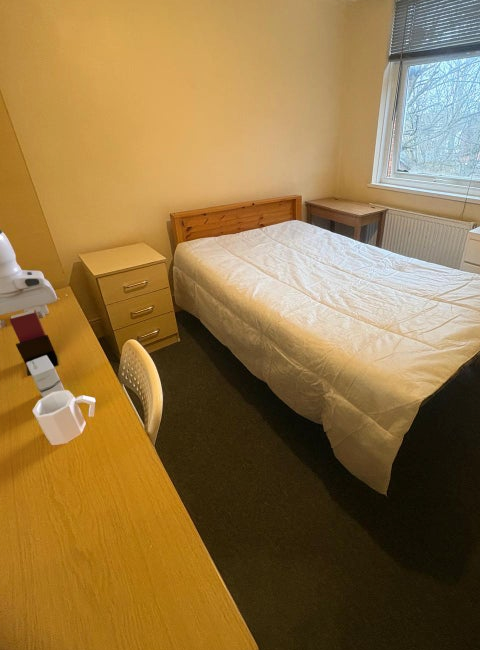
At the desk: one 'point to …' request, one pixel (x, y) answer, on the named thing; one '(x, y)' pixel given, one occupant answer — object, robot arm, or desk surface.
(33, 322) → the book
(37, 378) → the ink box
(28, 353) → the bookend
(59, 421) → the mug
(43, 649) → the desk surface
